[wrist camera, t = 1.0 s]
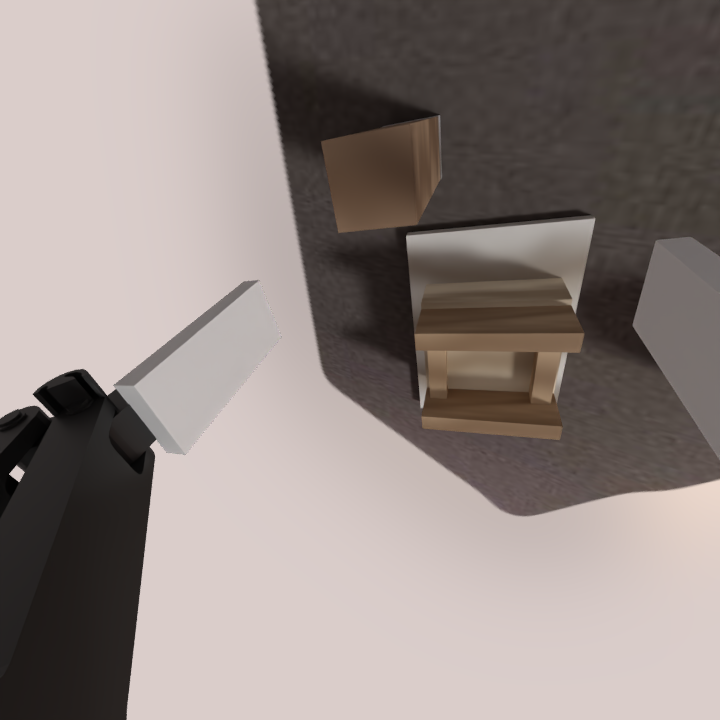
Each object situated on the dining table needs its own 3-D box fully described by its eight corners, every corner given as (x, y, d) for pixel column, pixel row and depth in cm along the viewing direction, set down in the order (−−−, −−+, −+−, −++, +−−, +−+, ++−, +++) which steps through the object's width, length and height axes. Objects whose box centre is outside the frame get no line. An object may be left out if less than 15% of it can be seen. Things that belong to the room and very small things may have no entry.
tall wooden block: (385, 125, 26) (319, 139, 15) (440, 115, 25) (410, 122, 14) (391, 184, 28) (337, 233, 18) (441, 177, 27) (417, 225, 16)
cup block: (407, 232, 30) (386, 270, 23) (591, 215, 26) (633, 255, 19) (421, 402, 41) (410, 462, 34) (552, 409, 37) (569, 480, 30)
